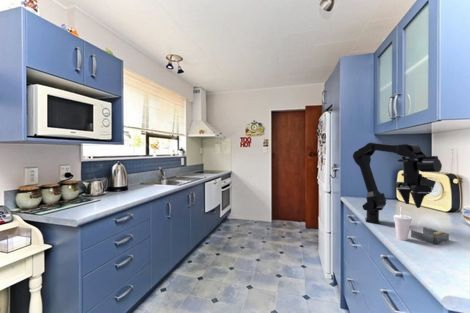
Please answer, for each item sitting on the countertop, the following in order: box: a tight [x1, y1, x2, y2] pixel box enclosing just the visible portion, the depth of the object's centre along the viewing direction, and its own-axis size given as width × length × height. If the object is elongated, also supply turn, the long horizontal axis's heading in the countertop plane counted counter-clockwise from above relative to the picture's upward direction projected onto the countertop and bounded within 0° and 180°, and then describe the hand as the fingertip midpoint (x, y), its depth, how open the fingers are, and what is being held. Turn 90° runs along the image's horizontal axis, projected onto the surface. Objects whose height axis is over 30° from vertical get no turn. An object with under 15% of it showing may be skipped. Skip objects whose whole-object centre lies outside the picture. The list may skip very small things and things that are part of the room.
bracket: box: [410, 226, 450, 246], centre depth 96 cm, size 9×10×4 cm
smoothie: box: [392, 206, 413, 241], centre depth 96 cm, size 6×6×14 cm
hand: (412, 205), depth 101 cm, fingers open, 9 cm apart
